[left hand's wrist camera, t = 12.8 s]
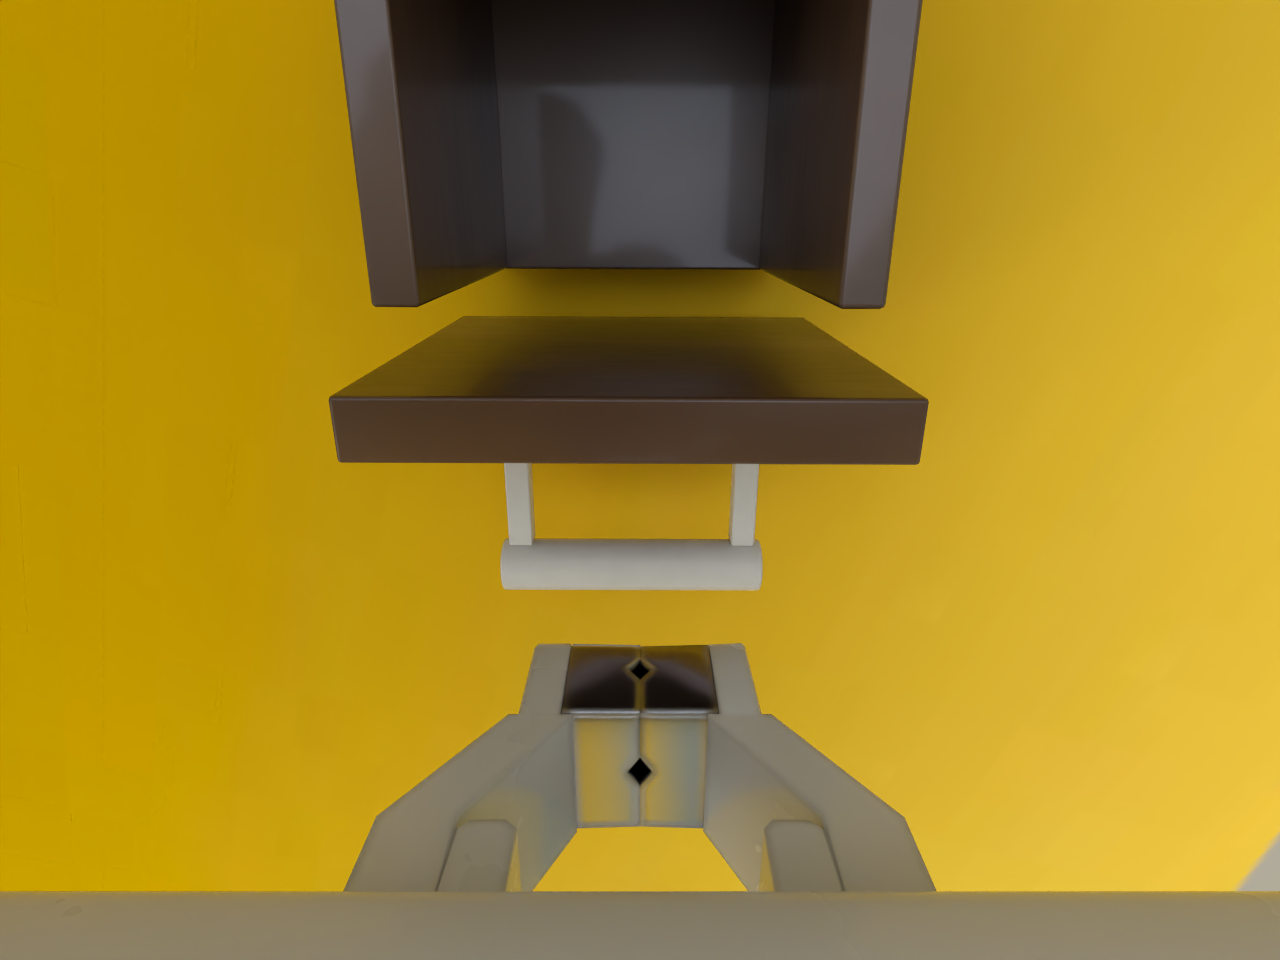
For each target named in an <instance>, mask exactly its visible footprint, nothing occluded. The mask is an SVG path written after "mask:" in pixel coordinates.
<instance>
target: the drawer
mask: <svg viewBox="0 0 1280 960" xmlns="http://www.w3.org/2000/svg"><path fill="white" fill-rule="evenodd" d="M922 1H923V0H334V3H335V11H336V19H337V27H338V35H339V43H340V51H341V59H342V67H343V75H344V83H345V91H346V99H347V107H348V115H349V123H350V131H351V139H352V147H353V155H354V163H355V171H356V179H357V188H358V196H359V204H360V212H361V220H362V228H363V236H364V244H365V252H366V260H367V268H368V276H369V284H370V292H371V300H372V304H373V306H375V307H418V306H421V305H423V304H425V303H427V302H430V301H432V300H434V299H437V298H439V297H441V296H444V295H446V294H448V293H450V292H453V291H455V290H457V289H460V288H462V287H464V286H467V285H469V284H471V283H474V282H476V281H478V280H480V279H483V278H485V277H487V276H490V275H492V274H494V273H497V272H499V271H501V270H504V269H709V270H763V271H765V272H767V273H769V274H771V275H773V276H775V277H777V278H779V279H782V280H784V281H786V282H788V283H790V284H792V285H794V286H796V287H798V288H800V289H802V290H804V291H806V292H808V293H810V294H812V295H815V296H817V297H819V298H821V299H823V300H825V301H827V302H829V303H831V304H833V305H835V306H837V307H839V308H842V309H880V308H883V307H884V306H885V304H886V296H887V287H888V279H889V271H890V263H891V255H892V246H893V238H894V230H895V222H896V214H897V205H898V197H899V189H900V181H901V173H902V165H903V156H904V148H905V140H906V132H907V124H908V115H909V107H910V99H911V91H912V83H913V75H914V66H915V58H916V50H917V42H918V34H919V25H920V17H921V9H922ZM329 405H330V411H331V418H332V425H333V431H334V438H335V444H336V451H337V457H338V461H339V462H343V463H504V470H505V485H506V500H507V516H508V531H509V538H507V539H505V541H504V543H503V546H502V552H501V581H502V585H503V588H504V589H506V590H759V589H760V586H761V582H762V570H763V564H762V551H761V545H760V543H759V541H758V540H757V539H754V535H755V520H756V505H757V490H758V475H759V464H874V465H916V464H919V462H920V456H921V449H922V442H923V436H924V429H925V422H926V416H927V409H928V399H927V398H925V397H924V396H922V395H921V394H919V393H918V392H916V391H914V390H913V389H911V388H910V387H908V386H907V385H905V384H904V383H902V382H901V381H899V380H898V379H896V378H895V377H893V376H892V375H890V374H888V373H887V372H885V371H884V370H882V369H881V368H879V367H878V366H876V365H875V364H873V363H872V362H870V361H869V360H867V359H866V358H864V357H862V356H861V355H859V354H858V353H856V352H855V351H853V350H852V349H850V348H849V347H847V346H846V345H844V344H843V343H841V342H840V341H838V340H836V339H835V338H833V337H832V336H830V335H829V334H827V333H826V332H824V331H823V330H821V329H820V328H818V327H817V326H815V325H814V324H812V323H810V322H809V321H807V320H806V319H804V318H730V317H493V316H464V317H462V318H460V319H458V320H457V321H455V322H453V323H452V324H450V325H448V326H447V327H445V328H443V329H442V330H440V331H438V332H437V333H435V334H433V335H432V336H430V337H428V338H427V339H425V340H423V341H422V342H420V343H418V344H417V345H415V346H413V347H412V348H410V349H408V350H407V351H405V352H403V353H402V354H400V355H398V356H397V357H395V358H393V359H392V360H390V361H388V362H387V363H385V364H383V365H382V366H380V367H378V368H377V369H375V370H373V371H372V372H370V373H368V374H367V375H365V376H363V377H362V378H360V379H358V380H357V381H355V382H353V383H352V384H350V385H348V386H347V387H345V388H343V389H342V390H340V391H338V392H337V393H335V394H333V395H332V396H330V397H329ZM532 463H607V464H732V480H731V499H730V518H729V539H534V538H535V520H534V501H533V481H532Z"/></svg>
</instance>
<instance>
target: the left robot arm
mask: <svg viewBox="0 0 1280 960" xmlns="http://www.w3.org/2000/svg"><path fill="white" fill-rule="evenodd" d="M635 826H643V827H679V828H704V829H703V831H704V833H705V834H706V835H707V837H708V838H709V839H710V841H711V842H712V843H713V845H714V846H715V847H716V849H717V850H718V851H719V853H720V854H721V855H722V857H723V858H724V859H725V861H726V862H727V863H728V865H729V866H730V867H731V869H732V870H733V871H734V873H735V874H736V875H737V877H738V878H739V879H740V881H741V882H742V883H743V885H744V886H745V887H746V889H747V890H748V891H721V892H532V891H533V889H534V888H535V887H536V885H537V884H538V883H539V881H540V880H541V879H542V877H543V876H544V875H545V873H546V872H547V871H548V869H549V868H550V867H551V865H552V864H553V863H554V861H555V860H556V859H557V857H558V856H559V855H560V853H561V852H562V851H563V849H564V848H565V847H566V845H567V844H568V843H569V841H570V840H571V839H572V837H573V836H574V835H575V833H576V832H577V828H601V827H635ZM0 960H1280V891H1085V892H937V891H936V889H935V887H934V884H933V882H932V880H931V877H930V875H929V873H928V870H927V868H926V866H925V864H924V861H923V859H922V857H921V854H920V852H919V850H918V848H917V845H916V843H915V841H914V838H913V836H912V834H911V831H910V829H909V827H908V825H907V822H906V820H905V818H904V817H903V816H902V815H900V814H899V813H898V812H897V811H895V810H894V809H893V808H891V807H890V806H889V805H888V804H886V803H885V802H884V801H882V800H881V799H880V798H879V797H877V796H876V795H875V794H873V793H872V792H871V791H870V790H868V789H867V788H866V787H864V786H863V785H862V784H861V783H859V782H858V781H857V780H855V779H854V778H853V777H852V776H850V775H849V774H848V773H846V772H845V771H844V770H843V769H841V768H840V767H839V766H837V765H836V764H835V763H834V762H832V761H831V760H830V759H828V758H827V757H826V756H825V755H823V754H822V753H821V752H819V751H818V750H817V749H816V748H814V747H813V746H812V745H810V744H809V743H808V742H807V741H805V740H804V739H803V738H801V737H800V736H799V735H798V734H796V733H795V732H794V731H792V730H791V729H790V728H789V727H787V726H786V725H785V724H783V723H782V722H781V721H779V720H778V719H777V718H776V717H774V716H773V715H771V714H761V710H760V706H759V702H758V698H757V694H756V690H755V686H754V682H753V678H752V674H751V670H750V666H749V662H748V658H747V654H746V650H745V646H744V645H742V644H741V643H736V644H709V645H682V646H640V645H598V644H573V645H571V644H538V645H537V646H536V648H535V649H534V653H533V657H532V661H531V665H530V669H529V673H528V677H527V682H526V686H525V690H524V694H523V698H522V702H521V706H520V710H519V714H509V715H507V716H506V717H504V718H503V719H502V720H501V721H499V722H498V723H497V724H495V725H494V726H493V727H491V728H490V729H489V730H488V731H486V732H485V733H484V734H482V735H481V736H480V737H479V738H477V739H476V740H475V741H473V742H472V743H471V744H469V745H468V746H467V747H466V748H464V749H463V750H462V751H460V752H459V753H458V754H457V755H455V756H454V757H453V758H451V759H450V760H449V761H447V762H446V763H445V764H444V765H442V766H441V767H440V768H438V769H437V770H436V771H435V772H433V773H432V774H431V775H429V776H428V777H427V778H425V779H424V780H423V781H422V782H420V783H419V784H418V785H416V786H415V787H414V788H413V789H411V790H410V791H409V792H407V793H406V794H405V795H403V796H402V797H401V798H400V799H398V800H397V801H396V802H394V803H393V804H392V805H391V806H389V807H388V808H387V809H385V810H384V811H383V812H382V813H380V814H379V815H378V816H376V819H375V821H374V823H373V825H372V828H371V830H370V832H369V834H368V837H367V839H366V841H365V843H364V846H363V848H362V850H361V852H360V855H359V857H358V859H357V862H356V864H355V866H354V868H353V871H352V873H351V875H350V877H349V880H348V882H347V884H346V886H345V889H344V891H343V892H223V891H0Z"/></svg>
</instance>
